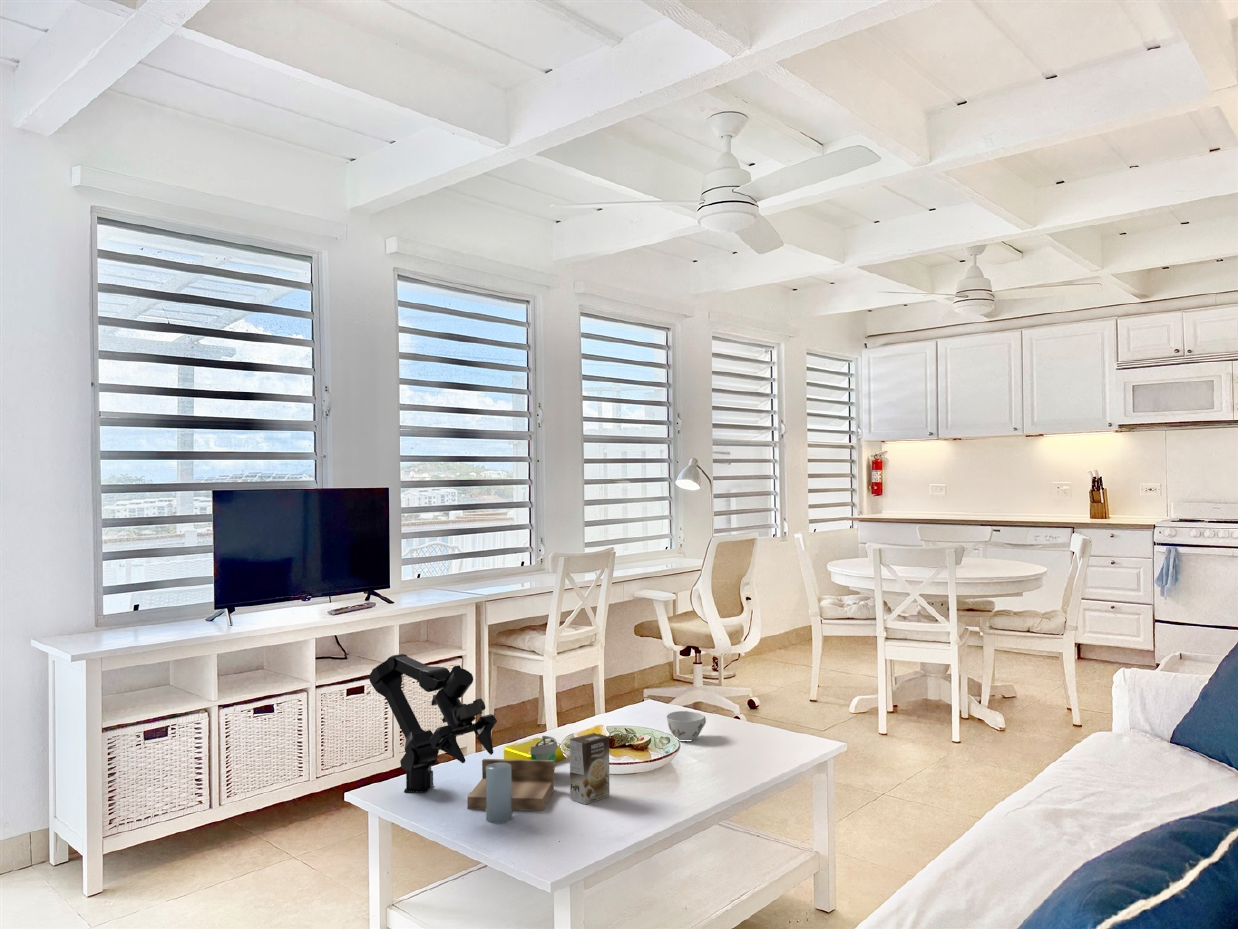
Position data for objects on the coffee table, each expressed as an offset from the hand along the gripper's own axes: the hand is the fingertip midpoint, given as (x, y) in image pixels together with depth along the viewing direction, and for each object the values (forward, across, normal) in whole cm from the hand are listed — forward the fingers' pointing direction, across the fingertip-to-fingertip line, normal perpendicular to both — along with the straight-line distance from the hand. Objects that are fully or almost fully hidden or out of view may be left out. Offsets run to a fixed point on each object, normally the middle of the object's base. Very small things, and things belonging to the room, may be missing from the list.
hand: (478, 758), depth 222 cm
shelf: (+10, +11, +10) cm, 18 cm away
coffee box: (+21, +25, -1) cm, 33 cm away
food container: (+5, +30, +14) cm, 34 cm away
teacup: (+12, +86, +8) cm, 87 cm away
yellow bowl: (-5, +39, +25) cm, 47 cm away
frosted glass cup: (+15, 0, +4) cm, 16 cm away
